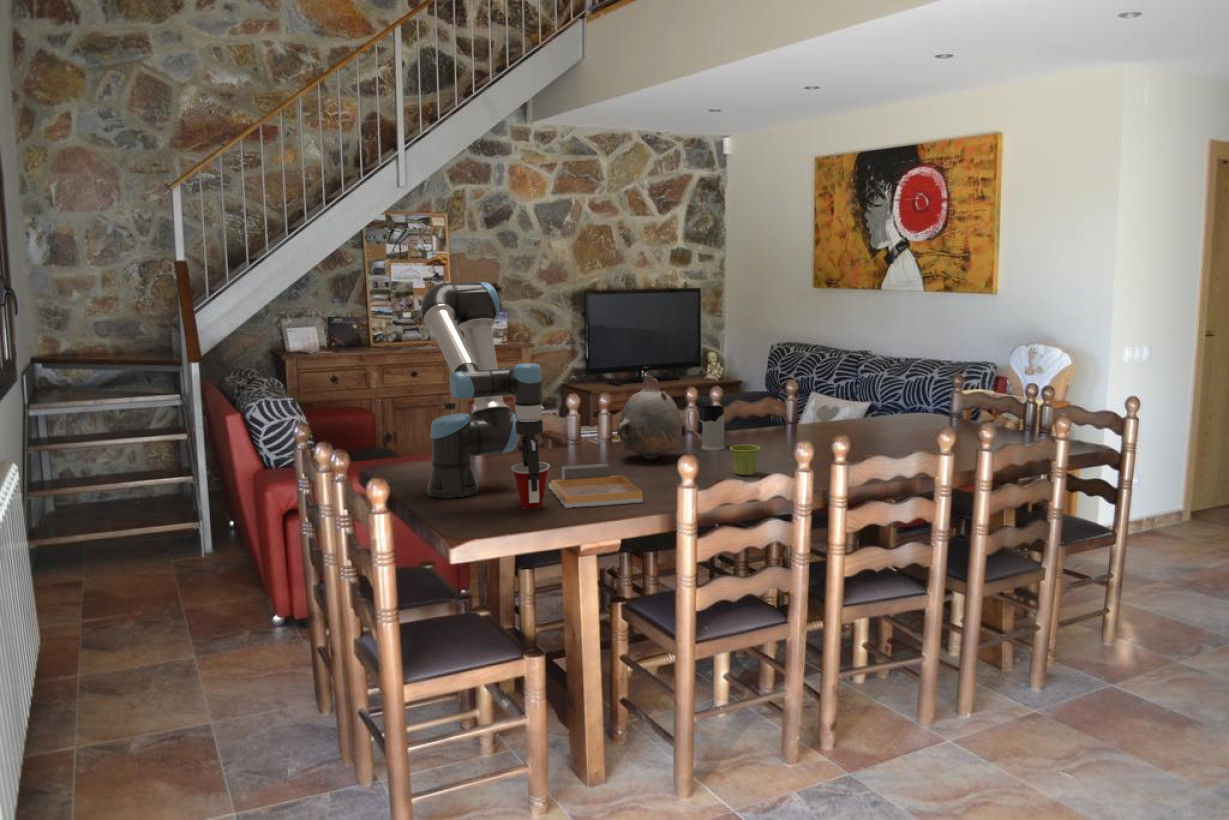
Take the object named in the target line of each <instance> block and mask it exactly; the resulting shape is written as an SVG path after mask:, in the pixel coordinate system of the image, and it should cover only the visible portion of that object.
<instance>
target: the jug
mask: <svg viewBox="0 0 1229 820" xmlns="http://www.w3.org/2000/svg"><path fill="white" fill-rule="evenodd" d="M642 381H643V382H642V388H641V390H640V391H639V392H636V393H633V395H631V396H630V397H629V398H628V400H627V401H626V403H625V405H624V407H623V409H622V412H621V416H620V422H619V424H618V425H617V429H616V434H617V436H618V437H619V440H620V441H619V442H620V445H621V447H622V448H623V449H625V450H627V451H630V452H632V453H635V454H638V455H641V456H642V457H643V458H645V459H647V460H653V459H656V458H658V457H659V456H661V455H662V454H666V453H668V452H670V451H674V450H677V449H678V448H679V447H680V446H681V444H682V443H681V442H682V437H683V430H682V429H683V420H682V418H681V415H680V410H679V408H678V406H677V404H676V402H675V401H674V399H673V398H672V397H671V396H670V395H669V394H667V392H666V391H661V390H660V388H659V387H660V386H659V382H658V380H657V379H656V378H655V377H654V376H653V375H652V374H650V372H645V373H644V375H643V380H642Z"/></svg>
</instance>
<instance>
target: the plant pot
mask: <svg viewBox="0 0 1229 820" xmlns="http://www.w3.org/2000/svg"><path fill="white" fill-rule="evenodd" d="M729 449H730V451H731V456H732V459H733V461H732V462H733V468H734V474H735V473H736V474H737V475H738V474H739V475H738V476H740V475H749V476H753V474H754V475H755V474H756V472H755V471H756V464H757V458H758V455H759V451H760V449H761V448H760V446H758V445H753V444H737V445H732V446H730V447H729ZM736 474H735V475H736Z"/></svg>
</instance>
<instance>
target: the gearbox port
mask: <svg viewBox="0 0 1229 820" xmlns="http://www.w3.org/2000/svg"><path fill="white" fill-rule="evenodd" d="M610 470H611V467H610V465H609V464H608V463H596V464H593V463H592V464H580V465H567V466H566V465H565V466H561V479H551V481H550V482H549V483H548V489H549V490H550V489H551V490H552V491H553V492H552V491H551V490H550V491H551V492H552V493H553V495H554V494H555V495H556V496H555V495H554V496H555V497H556V499H559V500H560V501H559V500H558V501H559V502H560V503H561V505H562V504H563V505H562V506H563V507H564V508H565V509H573V507H575V508H584V507H585V508H588V507H599V506H613V505H614V506H615V505H624V504H639V503H640V504H641V503H644V501H643V500H644V498H643V490H641V489H640V488H639V487H638V486H637V485H636V484H634V483H633V482H632V481H631V480H629V479H628V478H627V476H625V475H623V474H622V475H611V471H610ZM587 506H588V507H587Z"/></svg>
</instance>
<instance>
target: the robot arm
mask: <svg viewBox="0 0 1229 820" xmlns="http://www.w3.org/2000/svg"><path fill="white" fill-rule="evenodd" d="M500 307H501V304H500V299H499V295H498V293H497V291H496V289H495V287H494V286H493V285H492V284H491V283H489V282H487V281H476V280H475V281H467V282H441V283H438V284H436V285H434V286H433V287H431V288H430V289H429V290H428V291H427V292H426V294H425V295H424V297H423V299H422V302H421V307H420V316H421V319H422V321H423V323H424V326H425V327H426V328H428V330H431V332H432V334H433V337H434V339H435V341H436V343H437V345H438V347H439V349H440V351H441V353H442V355H443V357H444V359H445V362H446V364H447V365H448V368H449V369H450V372H451V374H450V376H449V379H448V381H449V382H448V383H449V384H448V385H449V390H450V393H451V396H452V397H453V398H455V399H461V400H462V399H466V400H470V399H474V404H475V407H474V409H473V410H472V412H471V415H472V416H470V414H469V413H465V412H464V413H462V412H461V413H451V414H447V415H443V416H439V417H437V418H435V419H434V420H432V422H431V424H430V434H429V435H430V440H431V441H430V442H431V462H432V463H431V464H432V465H431V466H432V469H431V473H430V477H429V480H428V484H427V496H429V497H431V496H432V497H431V498H435V497H438V498H437V499H455V498H454V497H462V498H465V497H464V496H468V497H471V496H470V495H472V496H474V495H473V494H475V495H477V494H479V492H478V491H479V483H478V480H477V476H476V475H475V472H474V469H473V467H472V466H473V465H472V463H473V462H472V457H480V456H488V455H498V454H499V455H502V454H505V453H506V454H507V453H510V452H513V451H514V450H516V447H517V445H518V444H519V440H520V436H521V463H523V462H524V466H525V467H528V469H529V477H528V478H527V480H529V503H537V502H539V479H540V472H539V462H540V459H539V441H538V440H537V438H536V435H540V434H543V432H544V426H543V425H544V423H543V422H544V421H543V419H542V418H543V411H545V407H544V406H543V390H542V388H543V386H542V385H543V384H542V383H543V382H542V381H543V376H542V375H543V374H542V367H541V365H540V364H538V363H531V362H527V363H524V362H523V363H516V364H515V365H514V366H506V367H502V368H499V366H498V360H497V355H496V348H495V341H494V335H493V330H492V329H493V327H494V325H495V324H496V319H497V318H498V317H499V315H500V310H501V309H500ZM462 332H463V333H462ZM510 395H511V396H512V395H513V396H514V413H511V409H510V406H508V405H507V404H506V403H505V402H504V398H503V396H510ZM533 474H535V475H533ZM476 493H477V494H476Z"/></svg>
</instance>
